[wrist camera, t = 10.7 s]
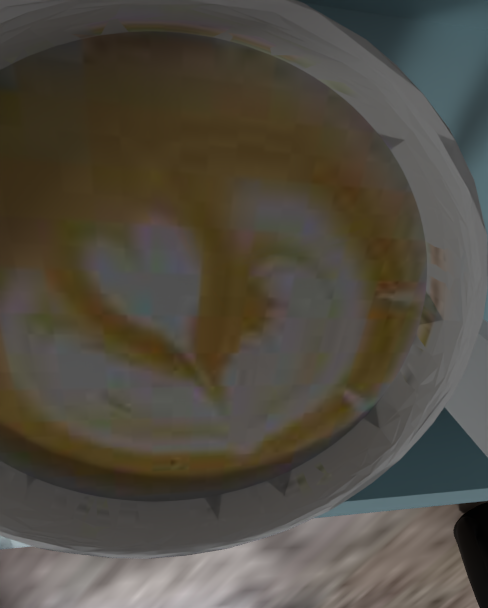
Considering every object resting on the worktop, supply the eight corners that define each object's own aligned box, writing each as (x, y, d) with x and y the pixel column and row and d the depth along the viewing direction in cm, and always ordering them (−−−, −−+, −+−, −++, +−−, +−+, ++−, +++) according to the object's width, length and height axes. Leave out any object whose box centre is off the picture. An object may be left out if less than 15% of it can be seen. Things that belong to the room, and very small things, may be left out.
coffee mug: (55, -11, 11) (-363, -345, 2) (350, 115, 14) (631, 165, 5) (15, 357, 17) (-155, 647, 8) (231, 392, 20) (276, 633, 11)
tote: (34, 431, 20) (-15, 550, 15) (-92, -95, 11) (-347, -266, 5) (551, 404, 26) (646, 484, 21) (777, 48, 16) (1058, 31, 11)
